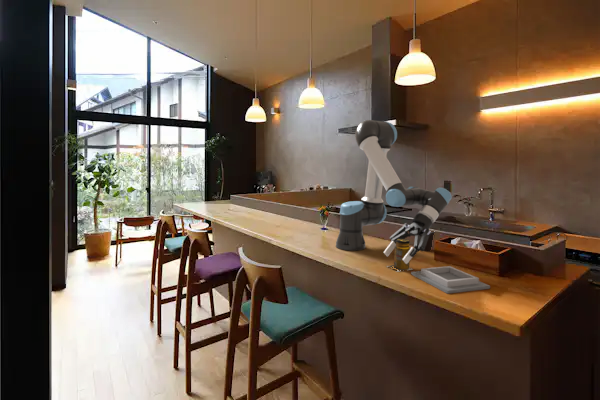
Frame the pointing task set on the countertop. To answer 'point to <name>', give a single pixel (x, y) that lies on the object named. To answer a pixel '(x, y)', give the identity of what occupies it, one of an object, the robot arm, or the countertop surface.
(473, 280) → the tray
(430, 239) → the coffee mug
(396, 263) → the condiment
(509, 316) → the countertop surface
